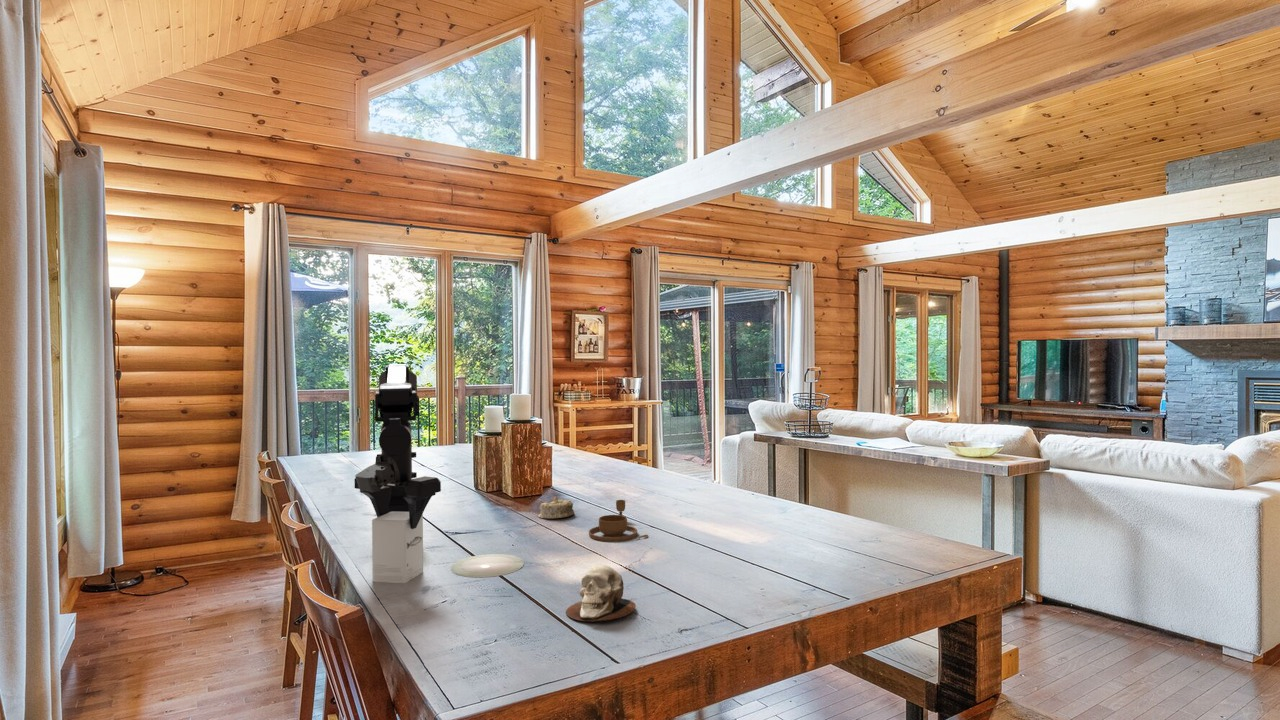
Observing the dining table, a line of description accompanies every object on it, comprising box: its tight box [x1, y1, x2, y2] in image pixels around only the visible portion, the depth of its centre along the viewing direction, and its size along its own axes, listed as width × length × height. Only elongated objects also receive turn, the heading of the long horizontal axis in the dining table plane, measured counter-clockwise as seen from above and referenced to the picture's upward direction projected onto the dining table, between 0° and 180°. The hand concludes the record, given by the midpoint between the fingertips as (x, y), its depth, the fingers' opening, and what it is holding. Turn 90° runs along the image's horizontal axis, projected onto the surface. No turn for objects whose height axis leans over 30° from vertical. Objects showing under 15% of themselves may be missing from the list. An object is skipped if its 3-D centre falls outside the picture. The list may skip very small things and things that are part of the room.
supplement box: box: [371, 511, 424, 584], centre depth 141 cm, size 7×7×13 cm
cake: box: [537, 496, 575, 520], centre depth 192 cm, size 10×10×5 cm
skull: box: [565, 564, 636, 623], centre depth 121 cm, size 12×10×10 cm
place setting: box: [588, 499, 649, 542], centre depth 175 cm, size 18×20×6 cm
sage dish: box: [450, 553, 525, 578], centre depth 148 cm, size 15×15×1 cm
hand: (397, 526), depth 140 cm, fingers open, 8 cm apart
